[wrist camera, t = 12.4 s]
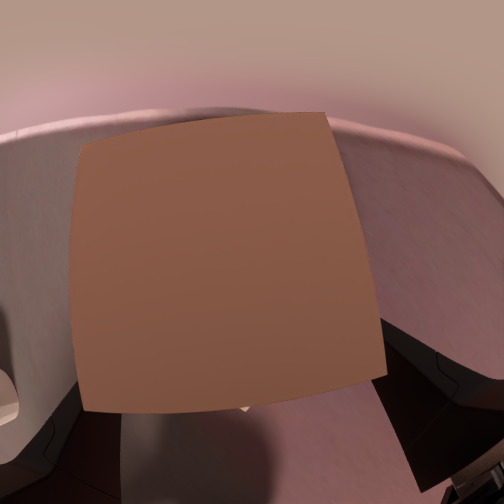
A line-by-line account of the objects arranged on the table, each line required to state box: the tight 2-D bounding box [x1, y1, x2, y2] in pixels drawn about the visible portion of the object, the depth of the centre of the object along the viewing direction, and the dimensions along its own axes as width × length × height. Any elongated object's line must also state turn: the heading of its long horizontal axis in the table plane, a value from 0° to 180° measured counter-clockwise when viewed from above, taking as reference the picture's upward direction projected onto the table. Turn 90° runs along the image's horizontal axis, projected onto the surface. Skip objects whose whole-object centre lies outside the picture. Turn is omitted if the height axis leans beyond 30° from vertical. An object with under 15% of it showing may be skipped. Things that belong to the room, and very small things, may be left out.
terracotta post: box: [69, 112, 387, 414], centre depth 12 cm, size 6×6×14 cm
